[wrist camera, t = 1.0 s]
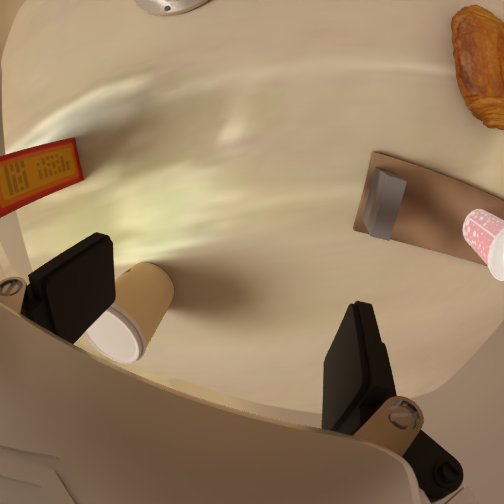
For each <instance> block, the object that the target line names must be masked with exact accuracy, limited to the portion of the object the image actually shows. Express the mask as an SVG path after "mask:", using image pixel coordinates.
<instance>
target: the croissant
mask: <svg viewBox="0 0 504 504" xmlns="http://www.w3.org/2000/svg"><path fill="white" fill-rule="evenodd" d="M451 29H452V33H453V35H452V42H453V47H454V51H453V56H454V59H455V67H456V78H457V82H458V86H459V89H460V91H461V94H462V97H463V99H464V100H465V103H466V106H467V107H468V109H469V110H470V111H471V112H472V114H473V115H474V116H475V117H476V118H477V119H479V120H481V121H483V124H484V125H486V126H487V127H488V128H498V129H501V130H504V22H502V21H501V20H500V19H499V18H497V17H496V16H494V15H493V13H491V12H490V11H488V10H486V9H485V8H482V7H480V6H478V5H471V6H469V7H464V8H462V9H461V10H460V11H458V12H457V14H455V16H453V18H452V22H451Z"/></svg>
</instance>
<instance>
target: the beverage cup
mask: <svg viewBox="0 0 504 504" xmlns="http://www.w3.org/2000/svg"><path fill="white" fill-rule="evenodd" d="M463 236H464V238H465V240H466V241H467V243H468V244H469V245H470V246H471V247H472V248H473V249H474V250H475V251H476V253H477V254H478V255H479V256H480V257H481V258H482V260H483V261H484V262H485V263H486V264H487V266H488V268H489V270H490V272H491V274H493V276H494V277H495V278H496V279H498V280H499V281H504V220H502V219H500V218H498V217H497V216H495V215H493V214H491V213H489V212H487V211H485V210H483V209H476V210H473V211H472V212H471V213H470V214H469V215H468V216H467V217H466V219H465V221H464V224H463Z"/></svg>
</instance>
